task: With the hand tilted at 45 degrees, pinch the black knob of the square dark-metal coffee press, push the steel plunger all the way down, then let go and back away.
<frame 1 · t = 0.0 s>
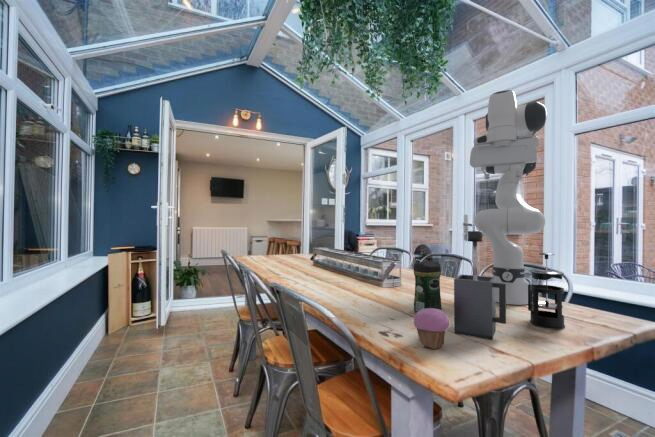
hand: (502, 178, 109), 48 cm above the table, tool pointing down, fingers open, 8 cm apart
coffee jar: (427, 312, 117), on the table
french press: (545, 324, 103), on the table
plunger: (475, 258, 96), point 22 cm above the table, slide at 0.0 cm
press pot: (475, 331, 95), on the table
cupcake: (431, 347, 84), on the table
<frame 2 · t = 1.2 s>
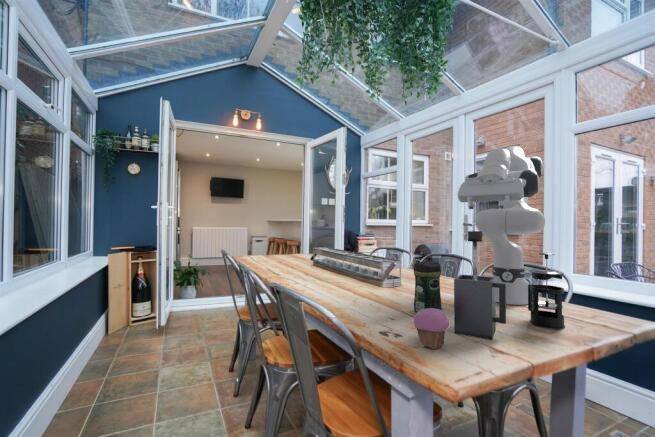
hand: (486, 207, 105), 38 cm above the table, tool tilted 45°, fingers open, 8 cm apart
nothing on the table moved.
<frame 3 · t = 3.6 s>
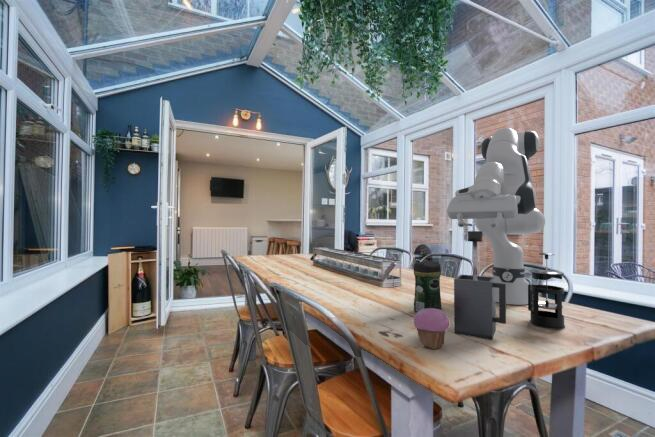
hand: (476, 225, 97), 32 cm above the table, tool tilted 45°, fingers open, 8 cm apart
nothing on the table moved.
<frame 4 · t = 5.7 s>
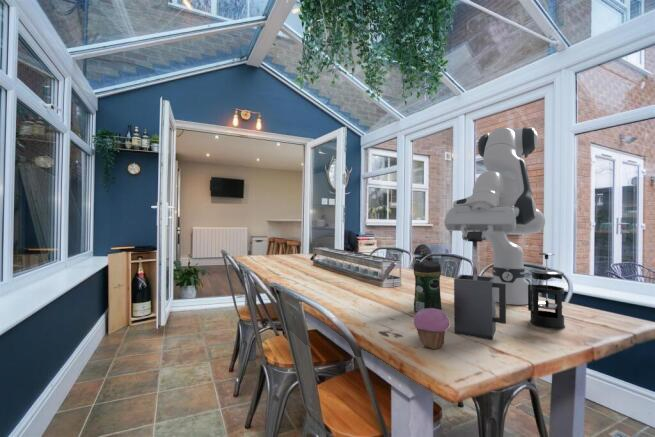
hand: (474, 238, 95), 28 cm above the table, tool tilted 45°, fingers closed on plunger, 4 cm apart
plunger: (475, 258, 96), point 22 cm above the table, slide at 0.0 cm, touching gripper
everything else where it was.
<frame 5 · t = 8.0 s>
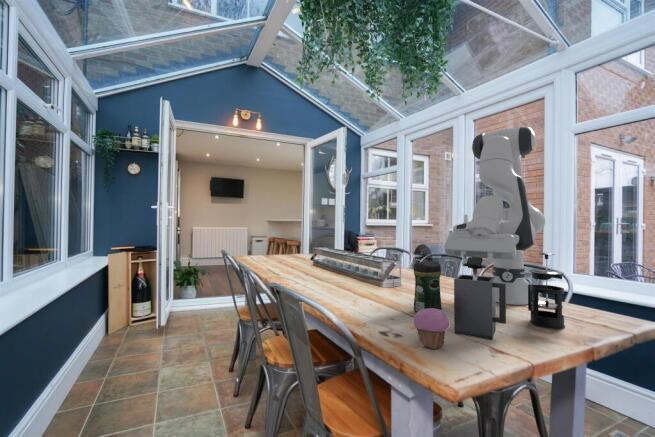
hand: (474, 265, 95), 20 cm above the table, tool tilted 45°, fingers closed on plunger, 4 cm apart
plunger: (475, 285, 95), point 14 cm above the table, slide at 7.9 cm, touching gripper
everything else where it was.
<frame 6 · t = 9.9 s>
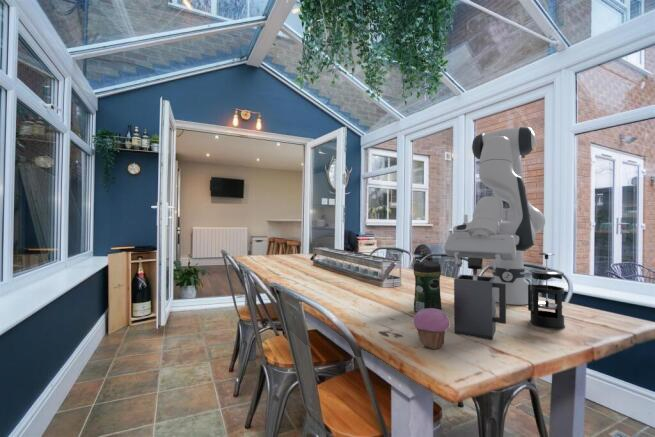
hand: (474, 266, 95), 19 cm above the table, tool tilted 45°, fingers open, 8 cm apart
plunger: (475, 285, 95), point 14 cm above the table, slide at 8.1 cm
everything else where it was.
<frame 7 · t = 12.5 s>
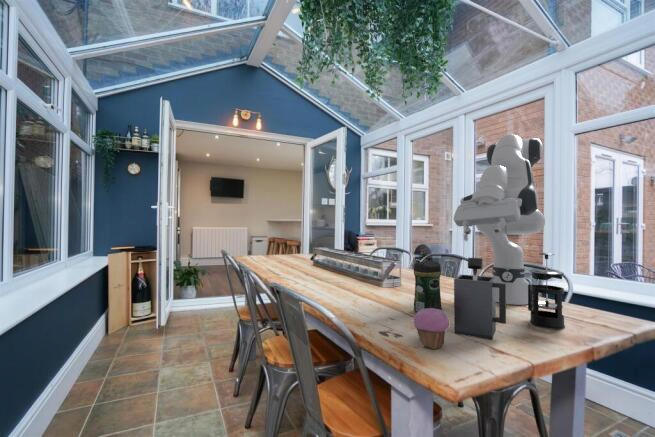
hand: (481, 232, 103), 30 cm above the table, tool tilted 40°, fingers open, 8 cm apart
nothing on the table moved.
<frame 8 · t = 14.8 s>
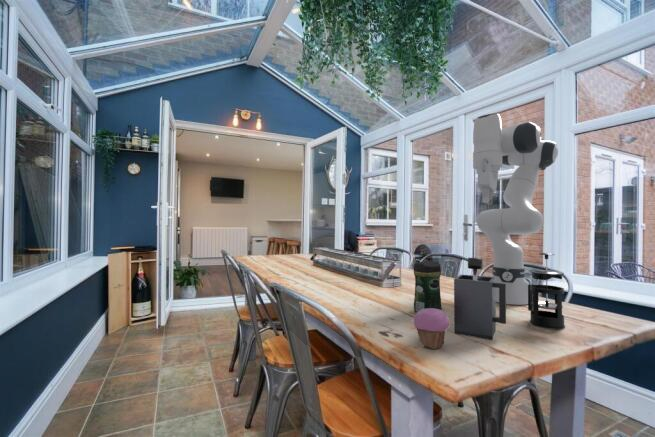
hand: (487, 203, 107), 39 cm above the table, tool pointing down, fingers open, 8 cm apart
nothing on the table moved.
at the end: plunger slide at 8.1 cm; the gripper is holding nothing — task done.
